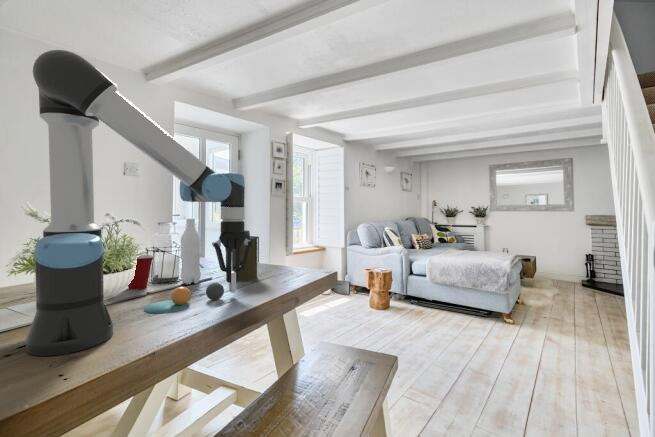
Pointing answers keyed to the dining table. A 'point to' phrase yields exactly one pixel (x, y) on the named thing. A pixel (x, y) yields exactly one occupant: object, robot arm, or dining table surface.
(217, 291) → the dark gray ball
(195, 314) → the dining table surface
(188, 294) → the orange ball
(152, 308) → the teal mark
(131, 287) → the plastic cup
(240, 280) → the canister
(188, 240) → the water bottle
